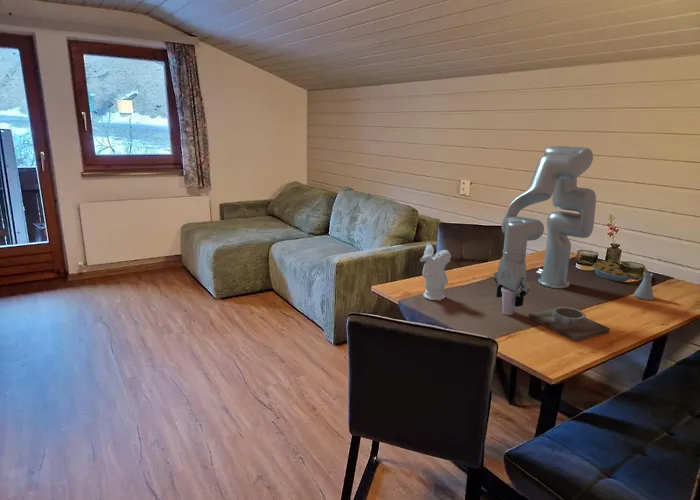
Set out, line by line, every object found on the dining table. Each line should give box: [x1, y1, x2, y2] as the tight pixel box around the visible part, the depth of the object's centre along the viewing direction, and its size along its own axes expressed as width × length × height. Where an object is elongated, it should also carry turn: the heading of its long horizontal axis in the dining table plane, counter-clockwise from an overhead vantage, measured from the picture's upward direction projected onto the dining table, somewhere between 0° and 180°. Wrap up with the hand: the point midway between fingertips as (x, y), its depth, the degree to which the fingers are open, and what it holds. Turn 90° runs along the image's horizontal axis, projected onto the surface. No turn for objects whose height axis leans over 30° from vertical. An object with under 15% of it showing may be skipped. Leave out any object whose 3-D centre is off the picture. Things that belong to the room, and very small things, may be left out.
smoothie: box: [501, 286, 521, 316], centre depth 167 cm, size 6×6×14 cm
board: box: [528, 306, 611, 342], centre depth 159 cm, size 20×16×2 cm
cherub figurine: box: [419, 241, 452, 301], centre depth 180 cm, size 12×12×22 cm
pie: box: [592, 259, 649, 283], centre depth 208 cm, size 22×22×5 cm
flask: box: [633, 272, 655, 301], centre depth 182 cm, size 7×7×10 cm
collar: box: [552, 306, 587, 327], centre depth 158 cm, size 10×10×3 cm
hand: (509, 301), depth 167 cm, fingers open, 9 cm apart
